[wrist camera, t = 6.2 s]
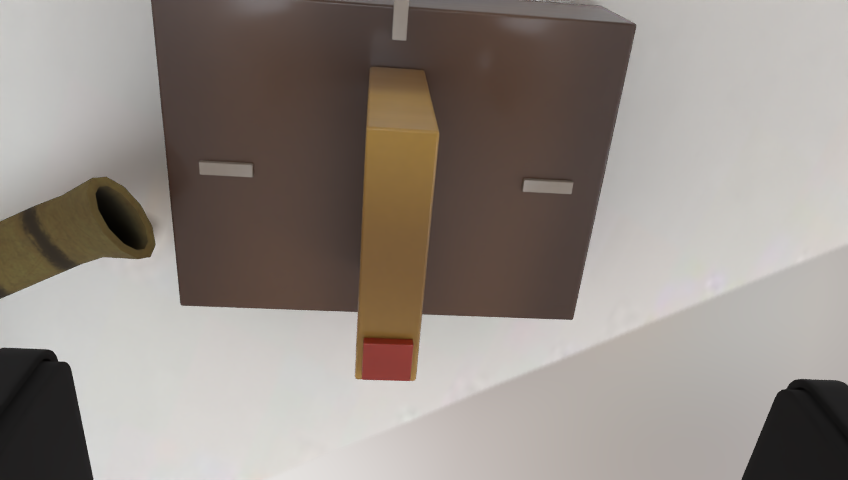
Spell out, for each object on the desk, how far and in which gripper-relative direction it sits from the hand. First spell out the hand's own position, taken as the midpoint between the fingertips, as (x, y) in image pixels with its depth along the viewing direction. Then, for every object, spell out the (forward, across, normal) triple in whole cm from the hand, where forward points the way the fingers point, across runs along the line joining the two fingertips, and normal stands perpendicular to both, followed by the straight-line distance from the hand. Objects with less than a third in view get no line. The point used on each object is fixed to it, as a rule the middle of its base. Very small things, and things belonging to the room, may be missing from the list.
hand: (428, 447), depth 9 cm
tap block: (+14, +1, 0) cm, 14 cm away
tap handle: (+10, +1, 0) cm, 10 cm away
